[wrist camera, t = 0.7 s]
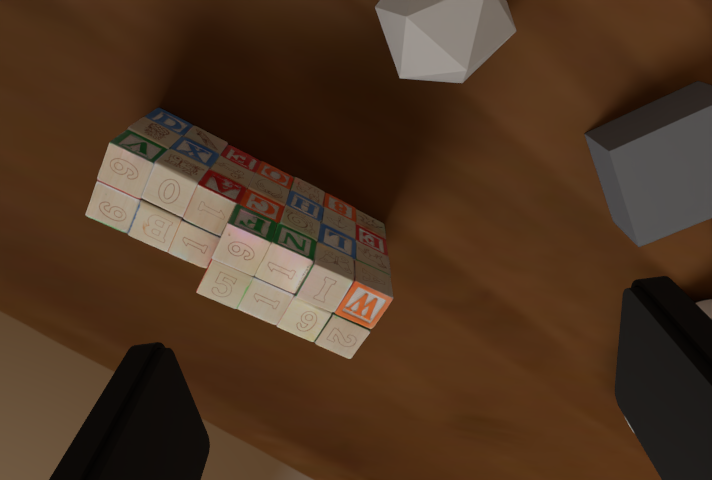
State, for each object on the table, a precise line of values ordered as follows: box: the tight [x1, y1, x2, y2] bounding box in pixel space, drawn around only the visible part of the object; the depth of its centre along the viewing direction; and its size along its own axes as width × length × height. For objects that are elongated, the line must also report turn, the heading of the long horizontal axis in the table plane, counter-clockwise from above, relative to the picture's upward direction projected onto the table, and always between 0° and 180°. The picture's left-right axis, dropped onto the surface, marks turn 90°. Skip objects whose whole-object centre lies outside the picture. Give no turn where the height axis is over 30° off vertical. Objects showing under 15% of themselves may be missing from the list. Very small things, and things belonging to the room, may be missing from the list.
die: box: [375, 0, 516, 83], centre depth 35 cm, size 8×9×10 cm
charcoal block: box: [584, 81, 712, 247], centre depth 41 cm, size 9×9×5 cm
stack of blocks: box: [86, 108, 393, 359], centre depth 40 cm, size 21×6×12 cm, turn 61°
